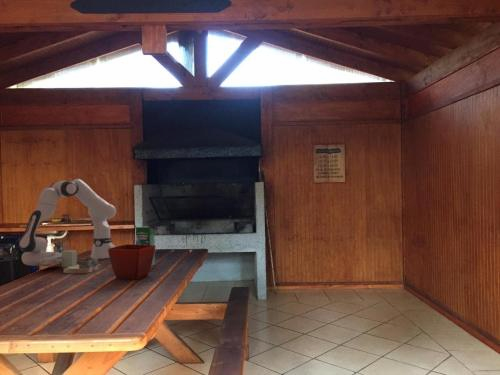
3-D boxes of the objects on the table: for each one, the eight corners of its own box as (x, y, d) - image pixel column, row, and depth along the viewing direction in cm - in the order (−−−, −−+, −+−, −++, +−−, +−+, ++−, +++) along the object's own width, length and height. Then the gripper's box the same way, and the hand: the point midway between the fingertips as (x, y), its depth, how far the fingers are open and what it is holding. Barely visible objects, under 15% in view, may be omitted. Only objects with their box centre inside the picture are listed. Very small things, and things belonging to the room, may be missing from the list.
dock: (78, 267, 259) (78, 257, 259) (101, 268, 257) (101, 257, 257) (63, 273, 243) (63, 262, 243) (87, 273, 241) (86, 262, 241)
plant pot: (156, 274, 236) (156, 244, 236) (138, 281, 217) (138, 249, 217) (127, 273, 241) (126, 244, 241) (107, 280, 223) (106, 248, 223)
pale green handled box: (66, 267, 260) (66, 243, 260) (77, 268, 259) (76, 243, 259) (61, 269, 255) (61, 244, 255) (72, 269, 254) (72, 244, 254)
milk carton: (154, 264, 268) (154, 225, 268) (150, 266, 259) (149, 227, 259) (141, 264, 269) (140, 225, 269) (136, 266, 260) (135, 227, 260)
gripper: (36, 256, 249) (57, 256, 247) (57, 251, 269) (76, 251, 267) (36, 267, 249) (57, 267, 247) (57, 261, 269) (76, 261, 267)
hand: (67, 259), depth 257 cm, fingers open, 8 cm apart
